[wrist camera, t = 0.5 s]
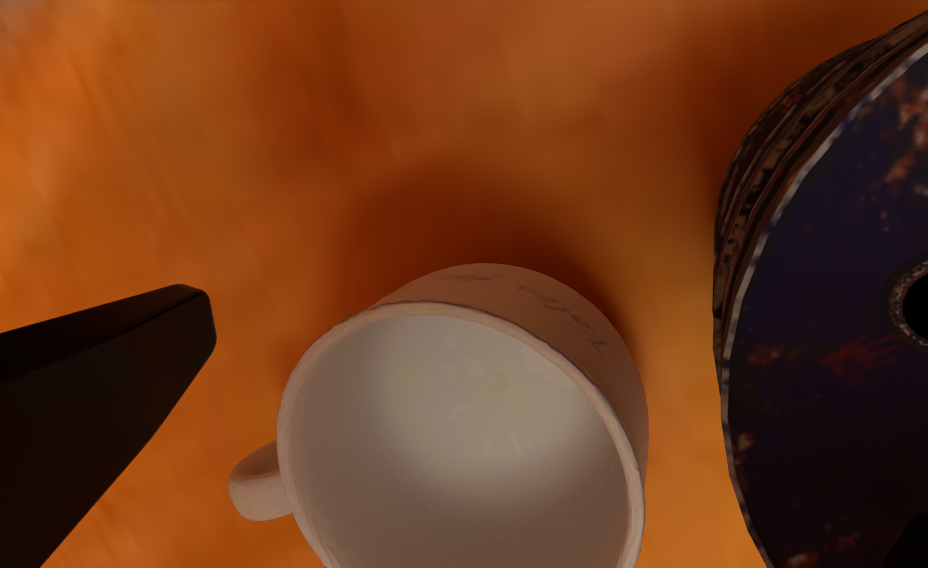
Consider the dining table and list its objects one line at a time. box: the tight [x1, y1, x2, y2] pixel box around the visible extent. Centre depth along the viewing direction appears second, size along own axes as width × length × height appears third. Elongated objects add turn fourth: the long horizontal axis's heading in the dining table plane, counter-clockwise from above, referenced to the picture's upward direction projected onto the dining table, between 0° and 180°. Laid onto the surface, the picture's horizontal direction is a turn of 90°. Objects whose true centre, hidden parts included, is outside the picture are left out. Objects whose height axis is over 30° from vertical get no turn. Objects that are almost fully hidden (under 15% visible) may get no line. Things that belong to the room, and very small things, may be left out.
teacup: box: [228, 263, 649, 568], centre depth 22 cm, size 14×11×8 cm
